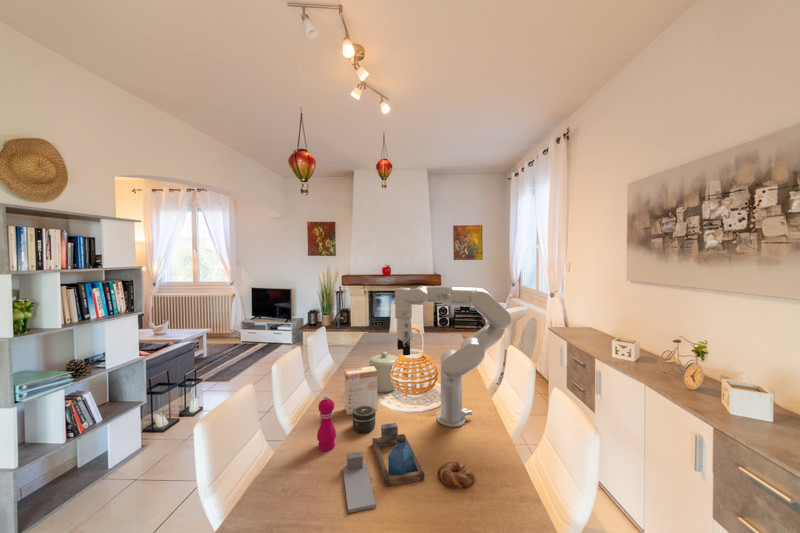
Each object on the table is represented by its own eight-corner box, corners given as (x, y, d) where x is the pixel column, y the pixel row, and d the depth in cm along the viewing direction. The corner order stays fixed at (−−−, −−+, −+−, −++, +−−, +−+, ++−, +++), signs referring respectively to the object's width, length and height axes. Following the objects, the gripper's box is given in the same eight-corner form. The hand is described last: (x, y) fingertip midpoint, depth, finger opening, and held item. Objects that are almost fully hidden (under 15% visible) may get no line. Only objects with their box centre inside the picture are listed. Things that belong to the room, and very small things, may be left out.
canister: (372, 382, 188) (372, 346, 187) (402, 383, 185) (402, 347, 185) (364, 395, 170) (364, 356, 169) (398, 396, 167) (397, 357, 167)
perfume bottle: (403, 480, 103) (403, 444, 103) (388, 473, 107) (388, 438, 107) (413, 470, 109) (413, 435, 108) (399, 463, 112) (398, 430, 112)
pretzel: (475, 471, 108) (475, 460, 108) (474, 494, 98) (474, 482, 98) (440, 465, 111) (440, 455, 111) (436, 487, 101) (436, 475, 101)
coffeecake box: (374, 404, 159) (374, 365, 158) (377, 410, 152) (377, 370, 152) (344, 408, 154) (344, 369, 154) (346, 415, 147) (346, 374, 147)
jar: (347, 430, 134) (347, 412, 134) (361, 420, 143) (361, 403, 143) (367, 436, 130) (367, 418, 129) (379, 425, 138) (379, 408, 138)
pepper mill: (339, 443, 125) (339, 393, 125) (329, 453, 118) (329, 400, 118) (323, 439, 127) (323, 390, 127) (313, 450, 120) (312, 398, 120)
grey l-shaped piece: (365, 464, 111) (365, 450, 111) (375, 507, 92) (375, 490, 92) (342, 468, 109) (342, 454, 109) (348, 513, 90) (348, 495, 90)
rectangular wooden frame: (404, 438, 127) (404, 421, 127) (424, 479, 104) (424, 458, 104) (372, 443, 124) (372, 425, 124) (385, 486, 100) (385, 464, 100)
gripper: (417, 317, 137) (417, 356, 137) (406, 311, 153) (406, 346, 154) (400, 318, 135) (400, 358, 135) (391, 312, 152) (391, 347, 152)
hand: (403, 352), depth 144 cm, fingers open, 9 cm apart
